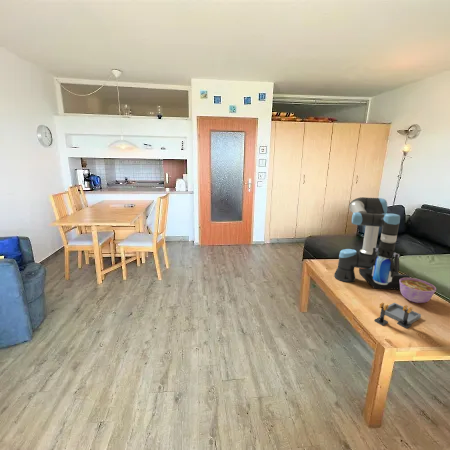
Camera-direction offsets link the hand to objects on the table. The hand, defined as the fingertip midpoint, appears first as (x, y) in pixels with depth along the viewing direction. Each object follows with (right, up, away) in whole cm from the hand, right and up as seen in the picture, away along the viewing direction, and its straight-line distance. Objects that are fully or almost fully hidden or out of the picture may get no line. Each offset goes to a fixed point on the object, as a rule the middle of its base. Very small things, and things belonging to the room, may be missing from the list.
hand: (381, 278), depth 149 cm
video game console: (+32, -14, +49) cm, 60 cm away
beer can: (0, -2, +1) cm, 3 cm away
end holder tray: (+15, -24, +6) cm, 29 cm away
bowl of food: (+37, -20, +24) cm, 48 cm away
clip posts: (+5, -26, -2) cm, 26 cm away
